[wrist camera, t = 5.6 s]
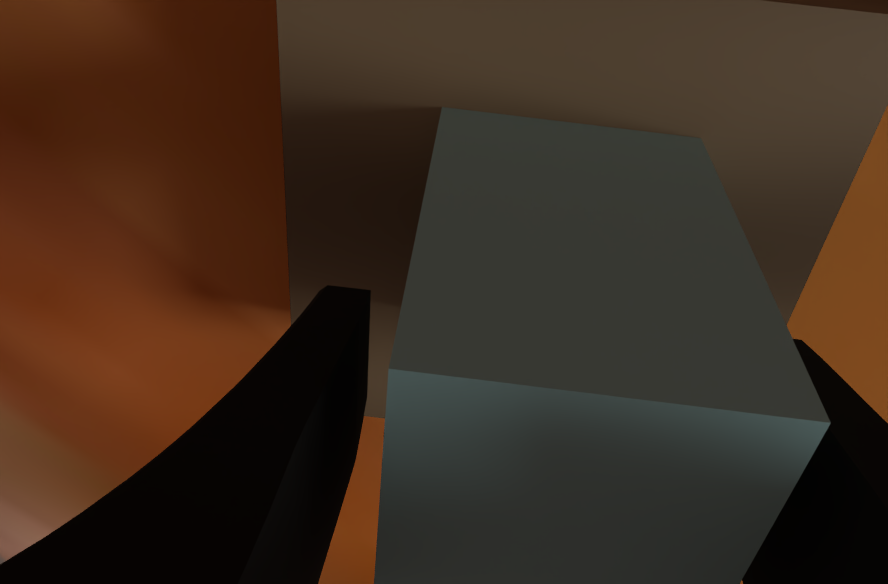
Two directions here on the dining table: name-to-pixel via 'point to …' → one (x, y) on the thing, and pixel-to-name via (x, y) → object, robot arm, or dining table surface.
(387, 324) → the base
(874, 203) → the dining table surface
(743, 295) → the block
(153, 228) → the dining table surface
